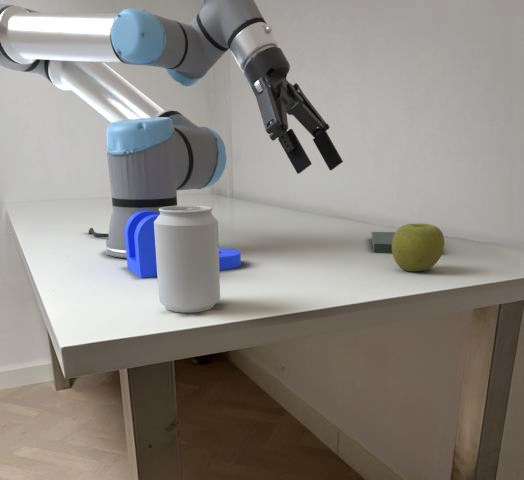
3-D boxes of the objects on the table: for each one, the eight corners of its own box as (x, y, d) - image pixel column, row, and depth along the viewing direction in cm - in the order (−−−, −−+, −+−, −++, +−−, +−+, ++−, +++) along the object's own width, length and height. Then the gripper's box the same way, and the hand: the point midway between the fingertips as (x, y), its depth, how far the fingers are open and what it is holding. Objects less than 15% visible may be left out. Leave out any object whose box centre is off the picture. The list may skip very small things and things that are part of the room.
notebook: (373, 252, 104) (374, 243, 103) (371, 239, 119) (371, 231, 118) (439, 254, 102) (440, 245, 102) (428, 240, 117) (429, 232, 116)
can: (162, 298, 72) (156, 203, 68) (219, 297, 72) (217, 203, 68) (156, 315, 65) (149, 210, 61) (220, 313, 65) (218, 209, 61)
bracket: (140, 278, 83) (136, 217, 80) (127, 267, 90) (122, 211, 87) (249, 267, 91) (248, 211, 88) (229, 258, 98) (227, 206, 95)
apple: (445, 275, 85) (450, 228, 82) (391, 274, 86) (395, 227, 83) (436, 266, 92) (441, 222, 89) (387, 264, 93) (391, 221, 90)
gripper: (238, 32, 83) (307, 155, 84) (308, 54, 104) (363, 153, 104) (205, 66, 88) (271, 183, 88) (279, 81, 108) (332, 176, 109)
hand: (321, 167), depth 96 cm, fingers open, 13 cm apart
